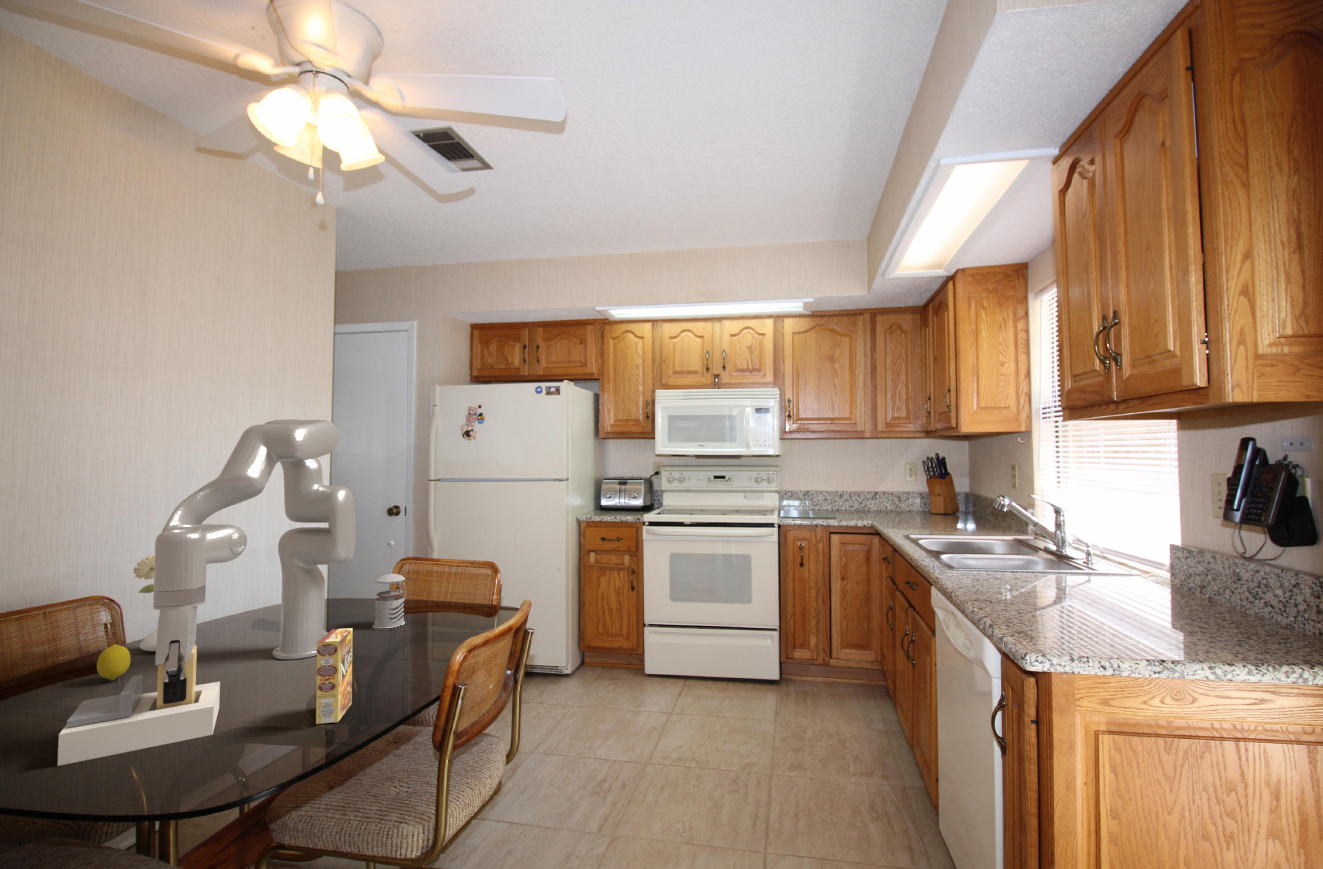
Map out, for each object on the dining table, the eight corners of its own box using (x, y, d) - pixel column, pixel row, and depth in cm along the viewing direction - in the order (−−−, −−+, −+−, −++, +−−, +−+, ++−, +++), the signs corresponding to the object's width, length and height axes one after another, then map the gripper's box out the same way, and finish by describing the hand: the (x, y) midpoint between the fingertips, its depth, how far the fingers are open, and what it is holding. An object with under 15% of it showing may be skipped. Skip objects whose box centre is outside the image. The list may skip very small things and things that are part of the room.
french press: (363, 630, 171) (365, 542, 172) (388, 619, 182) (389, 537, 183) (394, 631, 169) (396, 543, 170) (417, 620, 180) (419, 538, 181)
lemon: (109, 686, 129) (110, 648, 129) (89, 684, 130) (90, 647, 130) (136, 677, 134) (137, 641, 134) (116, 675, 135) (118, 639, 135)
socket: (219, 706, 118) (220, 681, 118) (212, 734, 106) (213, 706, 106) (81, 732, 107) (82, 704, 107) (57, 765, 95) (58, 734, 96)
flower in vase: (193, 638, 162) (195, 546, 163) (199, 648, 154) (202, 551, 155) (129, 649, 153) (132, 552, 154) (131, 660, 145) (135, 557, 146)
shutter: (142, 696, 110) (142, 674, 110) (130, 716, 102) (131, 692, 102) (83, 706, 106) (84, 683, 106) (66, 727, 98) (67, 703, 98)
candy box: (339, 723, 111) (341, 640, 112) (314, 725, 110) (316, 642, 111) (352, 703, 120) (354, 627, 120) (329, 705, 119) (331, 628, 119)
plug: (195, 698, 113) (197, 634, 113) (192, 707, 108) (194, 641, 109) (161, 704, 110) (163, 639, 110) (156, 714, 106) (158, 646, 106)
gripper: (161, 590, 115) (158, 685, 114) (144, 610, 101) (141, 718, 100) (209, 586, 119) (207, 678, 118) (200, 604, 105) (197, 708, 104)
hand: (176, 695), depth 109 cm, fingers closed on plug, 4 cm apart
